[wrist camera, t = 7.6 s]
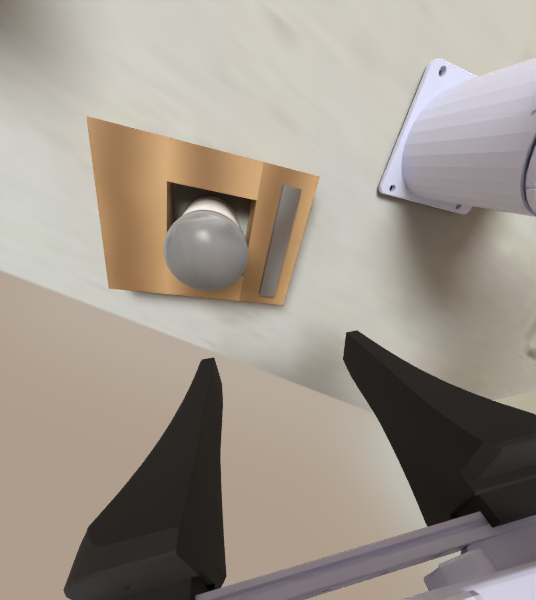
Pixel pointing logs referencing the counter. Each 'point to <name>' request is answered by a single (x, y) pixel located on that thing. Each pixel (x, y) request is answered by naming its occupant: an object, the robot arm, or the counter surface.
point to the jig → (160, 209)
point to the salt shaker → (206, 246)
